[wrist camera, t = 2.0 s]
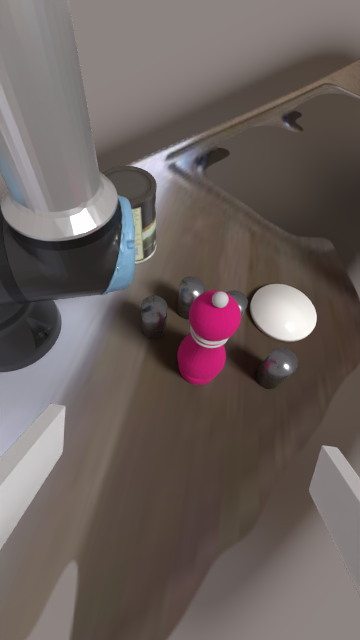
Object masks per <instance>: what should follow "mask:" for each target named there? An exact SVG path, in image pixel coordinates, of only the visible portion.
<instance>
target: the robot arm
mask: <svg viewBox="0 0 360 640" xmlns="http://www.w3.org/2000/svg"><path fill="white" fill-rule="evenodd" d="M0 173H1V175H2V177H3V179H4V181H5V183H6V185H7V189H6V190H5V192H4V194H3V196H2V200H1V206H0V372H8V371H14V370H18V369H21V368H24V367H26V366H29V365H31V364H33V363H34V362H36V361H37V360H39V359H40V358H42V357H43V356H44V355H45V354H46V353H47V352H48V351H49V350H50V349H51V348H52V346H53V345H54V344H55V342H56V340H57V338H58V336H59V333H60V330H61V315H60V312H59V310H58V308H57V306H56V304H55V302H54V301H53V300H56V299H65V298H74V297H82V296H91V295H105V294H107V293H108V292H113V291H118V290H123V289H125V288H127V287H128V286H129V285H130V284H131V282H132V280H133V276H134V270H135V246H134V243H135V231H134V221H133V214H132V209H131V205H130V202H129V200H128V199H127V198H125V197H121V196H119V195H117V191H116V189H115V187H114V185H113V183H112V182H111V181H110V180H109V179H108V178H107V177H106V176H105V175H104V174H102V173H100V172H99V170H98V164H97V158H96V153H95V147H94V142H93V136H92V131H91V125H90V119H89V113H88V107H87V101H86V96H85V90H84V85H83V79H82V73H81V68H80V62H79V56H78V51H77V45H76V39H75V33H74V28H73V22H72V16H71V11H70V5H69V0H0ZM64 421H65V406H63V405H56V404H50V405H49V406H48V407H47V408H46V409H45V410H44V411H43V412H42V413H41V414H40V415H39V417H38V418H37V419H36V420H35V421H34V422H33V423H32V424H31V425H30V426H29V427H28V428H27V430H26V431H25V432H24V433H23V434H22V435H21V436H20V437H19V438H18V439H17V440H16V442H15V443H14V444H13V445H12V446H11V447H10V448H9V449H8V450H7V451H6V452H5V453H4V455H3V456H2V457H1V458H0V549H1V548H2V546H3V545H4V543H5V542H6V540H7V539H8V537H9V535H10V534H11V532H12V531H13V529H14V528H15V526H16V524H17V523H18V521H19V520H20V518H21V517H22V515H23V514H24V512H25V510H26V509H27V507H28V506H29V504H30V503H31V501H32V499H33V498H34V496H35V495H36V493H37V492H38V490H39V489H40V487H41V485H42V484H43V482H44V481H45V479H46V478H47V476H48V475H49V473H50V471H51V470H52V468H53V467H54V465H55V464H56V462H57V460H58V459H59V457H60V456H61V454H62V453H63V439H64ZM309 492H310V494H311V496H312V498H313V500H314V502H315V505H316V507H317V508H318V511H319V513H320V515H321V517H322V519H323V521H324V523H325V525H326V527H327V529H328V532H329V534H330V536H331V538H332V540H333V542H334V544H335V546H336V548H337V550H338V552H339V554H340V556H341V558H342V561H343V563H344V565H345V567H346V569H347V571H348V573H349V575H350V577H351V579H352V581H353V583H354V586H355V588H356V590H357V592H358V594H359V596H360V478H359V477H358V475H357V474H356V473H355V471H354V470H353V469H352V467H351V466H350V464H349V463H348V462H347V460H346V459H345V458H344V456H343V455H342V453H341V452H340V451H339V449H338V448H336V447H329V446H322V448H321V451H320V455H319V458H318V461H317V465H316V468H315V471H314V475H313V478H312V481H311V485H310V488H309Z"/></svg>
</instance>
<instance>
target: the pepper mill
mask: <svg viewBox="0 0 360 640" xmlns="http://www.w3.org/2000/svg"><path fill="white" fill-rule="evenodd" d="M240 320H241V312H240V308H239V305H238V303H237V302H236V300H235V299H234V298H233V297H232V296H230V295H229V294H227V293H225V292H222V291H216V290H213V291H207V292H205V293H202V294H201V295H199V296H198V297H197V298H196V299H195V300H194V301H193V303H192V305H191V308H190V311H189V321H190V324H191V327H190V332H191V333H190V334H189V335H187V336H186V337H185V338H184V339H183V341H182V342H181V344H180V346H179V349H178V353H177V358H178V363H179V371H180V373H181V375H182V377H183V378H184V379H185V380H186V381H188V382H190V383H192V384H195V385H202V384H206V383H208V382H210V381H211V380H212V379H213V378H214V377H215V376H216V375H217V374H219V372H220V371H221V370H222V368H223V366H224V363H225V360H226V352H225V347H224V345H223V344H225V343H226V341H227V340H228V338H229V337H230V336H232V335H233V334H234V333H235V332H236V330H237V329H238V327H239V324H240Z"/></svg>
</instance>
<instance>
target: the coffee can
mask: <svg viewBox="0 0 360 640" xmlns="http://www.w3.org/2000/svg"><path fill="white" fill-rule="evenodd" d="M101 173H102V174H104V175H105V176H106V177H107V178H108V179H109V180H110V181H111V182H112V183H113V185H114V187H115V189H116V191H117V195H119V196H121V197H125V198H127V199H128V200H129V202H130V205H131V209H132V214H133V221H134V231H135V243H134V246H135V264H139V263H142V262H144V261H146V260H148V259H149V258H151V257H152V255H153V254H154V252H155V250H156V181H155V179H154V177H153V176H152V175H151V174H150V173H149V172H147V171H145V170H143V169H141V168H137V167H133V166H117V167H112V168H109V169H106V170H104V171H102V172H101Z"/></svg>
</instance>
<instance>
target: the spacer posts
mask: <svg viewBox="0 0 360 640" xmlns="http://www.w3.org/2000/svg"><path fill="white" fill-rule="evenodd" d="M203 292H204V283H203V282H202V281H201V280H200V279H199V278H196V277H186V278H184V279H183V280H182V281H181V283H180V288H179V296H178V305H177V312H178V314H179V315H180V316H181V317H182V318H184V319H189V311H190V308H191V305H192V303H193V301H194V300H195V299H196V298H197V297H198V296H199V295H201V294H202V293H203ZM227 294H229V295H230V296H232V297H233V298H234V299H235V300H236V302H237V303H238V305H239V308H240V312H241V317H242V315H243V313H244V311H245V309H246V307H247V305H248V300H247V298H246V296H245V295H244V294H243V293H241V292H239V291H234V290H233V291H228V292H227ZM141 316H142V329H143V333H144V335H145V336H146V337H148V338H150V339H158V338H160V337H162V336H163V335H164V333H165V331H166V318H167V303H166V301H165V300H164V299H163V298H161V297H159V296H149V297H147V298H145V299H144V300H143V301H142V303H141ZM297 366H298V360H297V357H296V355H295V354H294V353H293V352H292V351H291V350H289V349H287V348H283V347H279V348H276V349H274V350H273V351H272V352H271V353H270V355H269V356H268V357H267V358H266V359H265V361H264V362H263V363H262V364H261V366H260V367H259V368H258V369H257V371H256V380H257V382H258V383H259V384H260V385H261V386H262V387H264V388H266V389H273V388H276V387H277V386H278V385H279V384H280V383H281V382H283V381H284V380H285V379H286V378H287V377H288V376H289V375H291V374H292V373H293V372H294V371H295V370H296V369H297Z"/></svg>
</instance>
